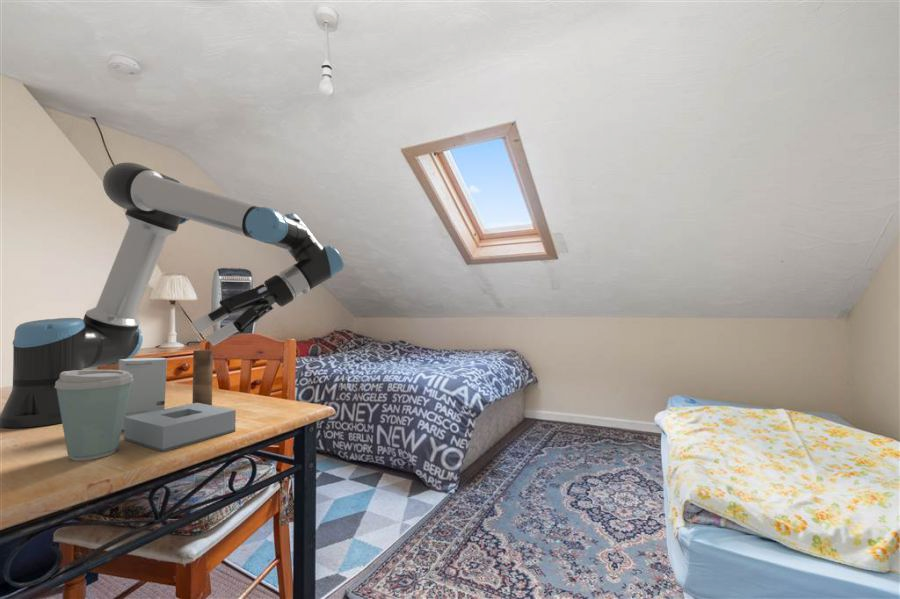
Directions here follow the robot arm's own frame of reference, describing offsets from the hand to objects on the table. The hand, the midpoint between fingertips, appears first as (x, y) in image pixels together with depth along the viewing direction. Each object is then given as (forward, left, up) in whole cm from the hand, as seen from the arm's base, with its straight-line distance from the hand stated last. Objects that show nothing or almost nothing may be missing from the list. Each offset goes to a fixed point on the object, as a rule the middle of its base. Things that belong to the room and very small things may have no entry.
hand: (202, 335), depth 92 cm
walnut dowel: (-5, +3, -20) cm, 21 cm away
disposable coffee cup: (+3, -21, -20) cm, 29 cm away
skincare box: (-11, -7, -20) cm, 24 cm away
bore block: (+5, -7, -20) cm, 22 cm away
